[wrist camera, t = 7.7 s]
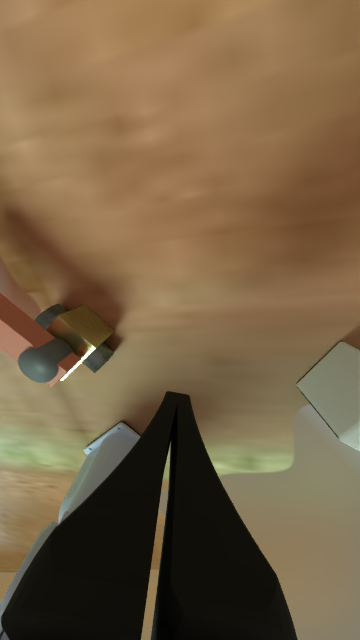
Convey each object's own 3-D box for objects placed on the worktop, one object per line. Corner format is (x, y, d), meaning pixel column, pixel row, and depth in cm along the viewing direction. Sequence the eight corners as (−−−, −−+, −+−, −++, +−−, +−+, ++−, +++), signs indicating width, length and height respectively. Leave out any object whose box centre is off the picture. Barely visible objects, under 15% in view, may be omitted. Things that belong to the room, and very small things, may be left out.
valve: (96, 368, 23) (75, 392, 19) (45, 325, 21) (10, 341, 17) (125, 341, 21) (109, 360, 17) (72, 292, 19) (41, 301, 15)
